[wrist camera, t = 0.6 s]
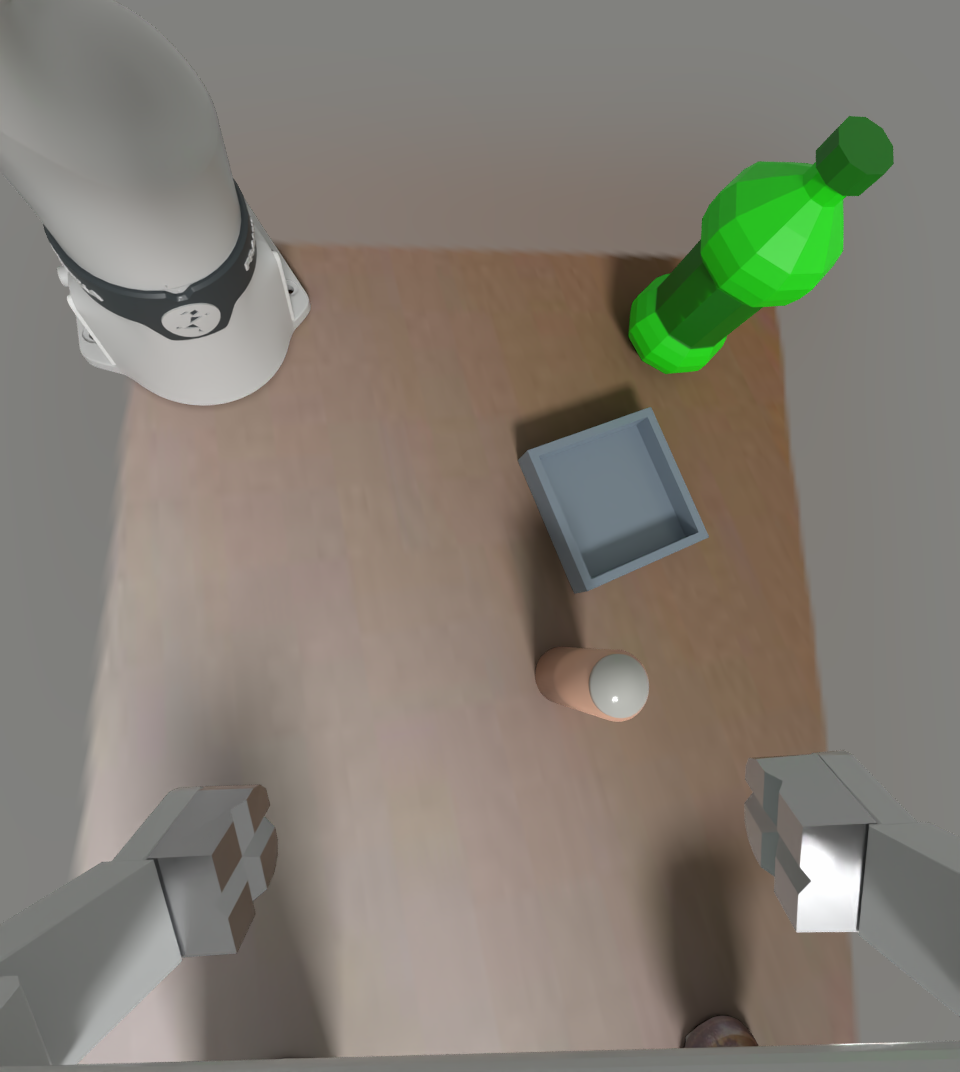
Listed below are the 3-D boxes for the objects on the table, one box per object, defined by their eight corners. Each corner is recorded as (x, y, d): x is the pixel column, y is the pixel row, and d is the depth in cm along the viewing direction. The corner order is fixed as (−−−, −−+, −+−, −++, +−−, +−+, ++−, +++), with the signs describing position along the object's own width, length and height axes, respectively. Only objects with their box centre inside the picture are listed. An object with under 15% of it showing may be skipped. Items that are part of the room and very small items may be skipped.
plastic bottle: (668, 285, 61) (876, 57, 37) (716, 370, 60) (958, 195, 36) (595, 316, 58) (767, 92, 34) (644, 405, 58) (855, 241, 34)
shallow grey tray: (517, 460, 54) (527, 450, 51) (635, 418, 57) (650, 406, 54) (574, 593, 53) (587, 591, 50) (690, 542, 56) (709, 537, 53)
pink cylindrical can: (526, 660, 50) (576, 667, 39) (574, 638, 52) (635, 638, 41) (548, 713, 50) (604, 735, 39) (595, 689, 51) (663, 704, 40)
